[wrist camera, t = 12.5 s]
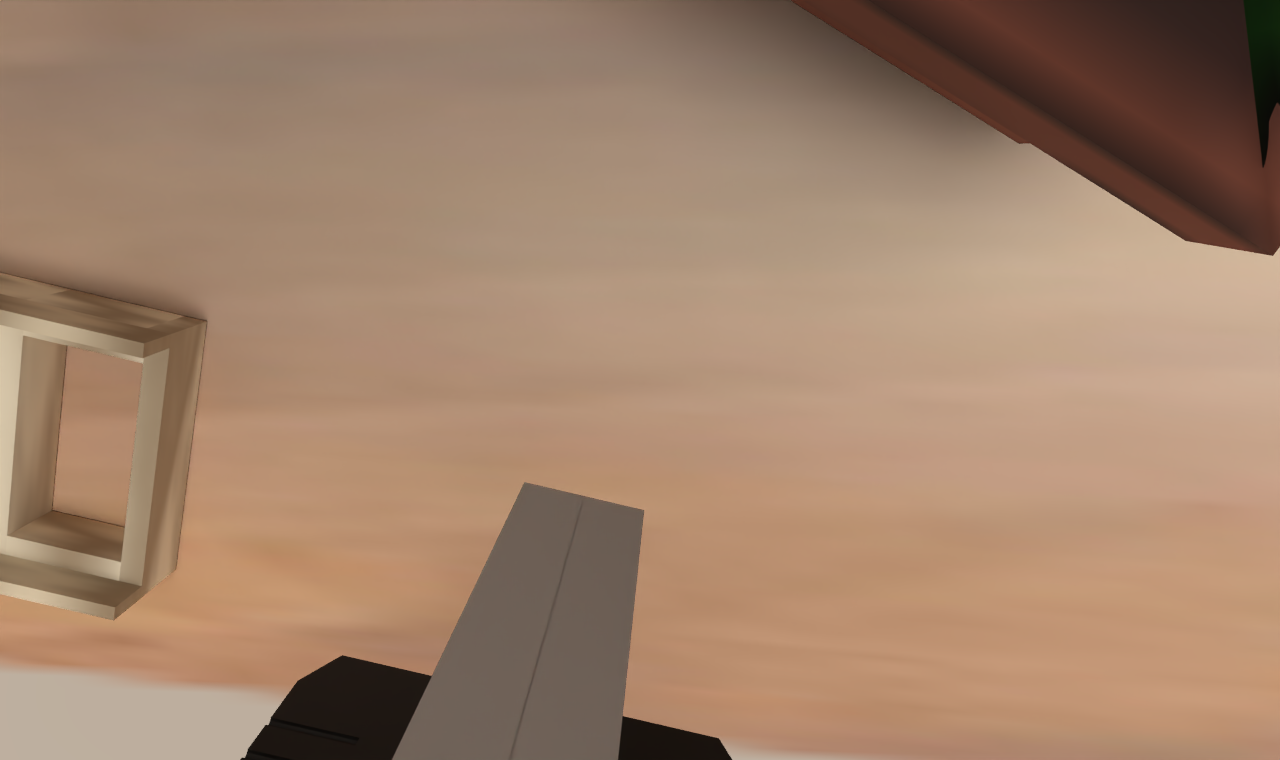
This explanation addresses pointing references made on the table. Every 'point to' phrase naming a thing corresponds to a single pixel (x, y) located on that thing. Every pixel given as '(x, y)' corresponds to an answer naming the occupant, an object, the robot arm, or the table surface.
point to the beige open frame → (28, 439)
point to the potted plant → (1111, 94)
